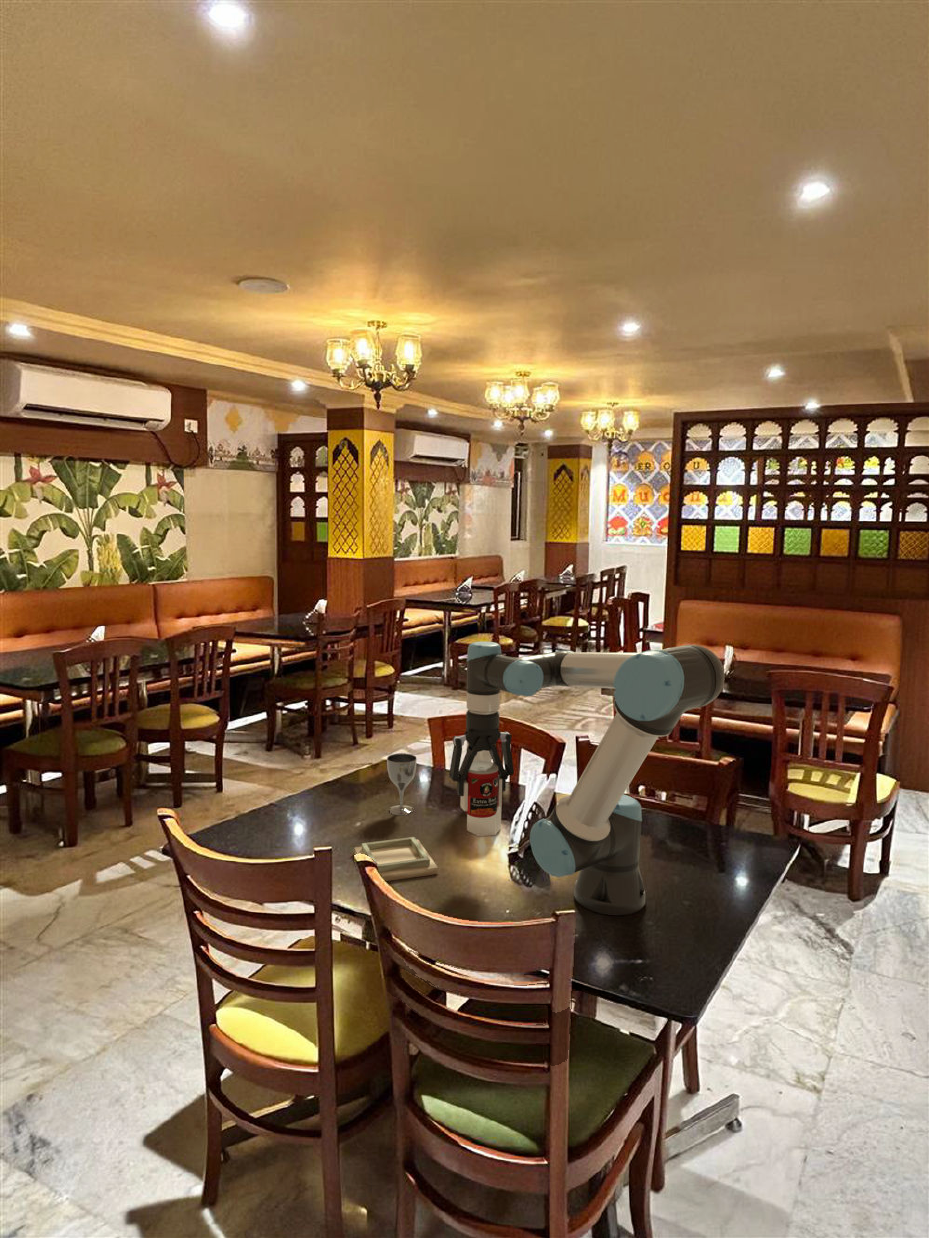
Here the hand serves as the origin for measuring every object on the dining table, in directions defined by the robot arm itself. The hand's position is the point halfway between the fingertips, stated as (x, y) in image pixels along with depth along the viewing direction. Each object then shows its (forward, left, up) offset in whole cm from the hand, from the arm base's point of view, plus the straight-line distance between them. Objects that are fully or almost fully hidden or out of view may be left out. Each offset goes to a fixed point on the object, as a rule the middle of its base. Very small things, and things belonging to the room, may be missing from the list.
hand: (481, 806), depth 185 cm
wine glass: (+39, +8, -15) cm, 43 cm away
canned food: (0, 0, -1) cm, 1 cm away
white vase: (+39, -15, -16) cm, 45 cm away
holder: (+8, +18, -15) cm, 25 cm away
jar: (+20, -9, -15) cm, 27 cm away
